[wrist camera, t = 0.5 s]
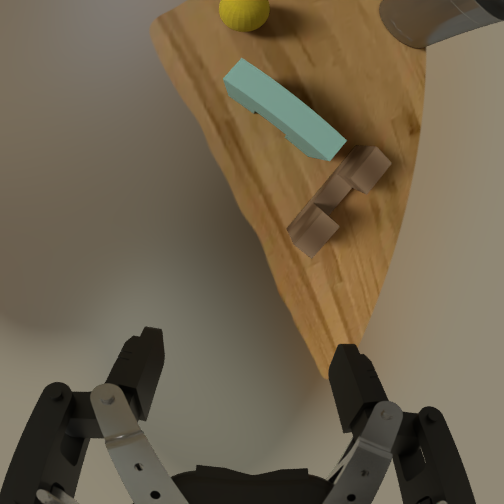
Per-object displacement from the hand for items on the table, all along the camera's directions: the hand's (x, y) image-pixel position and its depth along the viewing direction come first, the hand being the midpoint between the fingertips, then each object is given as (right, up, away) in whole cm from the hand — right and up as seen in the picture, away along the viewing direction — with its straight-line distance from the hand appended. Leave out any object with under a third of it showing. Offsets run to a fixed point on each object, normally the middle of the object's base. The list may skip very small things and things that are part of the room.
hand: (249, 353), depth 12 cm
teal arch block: (+3, +20, +18) cm, 27 cm away
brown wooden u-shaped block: (+10, +12, +22) cm, 27 cm away
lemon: (-1, +32, +13) cm, 35 cm away
